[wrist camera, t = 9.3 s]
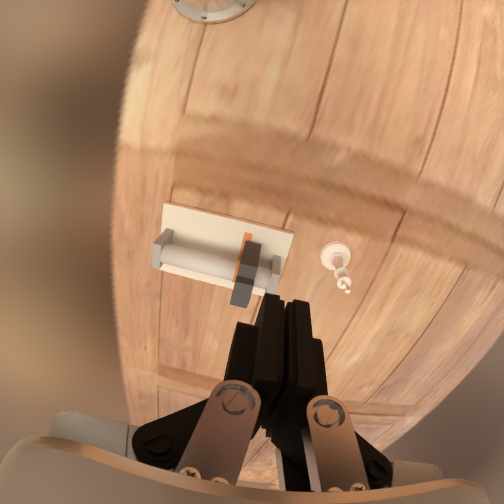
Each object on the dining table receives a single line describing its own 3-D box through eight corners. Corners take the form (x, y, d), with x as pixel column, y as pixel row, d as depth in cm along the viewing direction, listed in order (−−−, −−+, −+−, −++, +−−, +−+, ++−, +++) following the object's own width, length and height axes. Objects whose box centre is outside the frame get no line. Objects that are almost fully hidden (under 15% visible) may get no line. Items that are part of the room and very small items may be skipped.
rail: (160, 266, 49) (145, 287, 43) (166, 201, 43) (149, 216, 37) (273, 295, 49) (271, 320, 43) (293, 231, 44) (295, 252, 38)
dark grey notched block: (236, 278, 46) (228, 310, 39) (245, 240, 43) (238, 269, 36) (251, 281, 46) (245, 314, 39) (261, 244, 43) (257, 273, 36)
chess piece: (332, 274, 46) (342, 312, 37) (313, 254, 45) (320, 290, 36) (356, 256, 44) (371, 292, 36) (338, 234, 43) (351, 268, 34)
